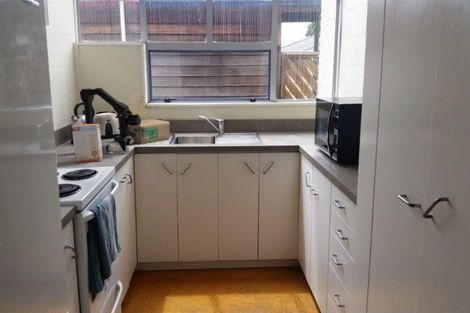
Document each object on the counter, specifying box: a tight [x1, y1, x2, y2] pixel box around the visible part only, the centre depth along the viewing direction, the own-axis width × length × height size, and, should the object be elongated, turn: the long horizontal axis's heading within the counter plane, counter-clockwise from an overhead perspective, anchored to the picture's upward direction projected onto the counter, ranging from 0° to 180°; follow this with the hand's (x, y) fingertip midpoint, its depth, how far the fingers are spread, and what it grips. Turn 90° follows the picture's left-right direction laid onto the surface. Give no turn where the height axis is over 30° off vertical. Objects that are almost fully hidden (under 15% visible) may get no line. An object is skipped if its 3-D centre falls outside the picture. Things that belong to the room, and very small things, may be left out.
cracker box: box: [71, 123, 104, 163], centre depth 236 cm, size 14×6×21 cm, turn 92°
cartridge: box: [109, 145, 131, 153], centre depth 258 cm, size 12×4×4 cm, turn 81°
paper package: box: [129, 118, 171, 145], centre depth 302 cm, size 27×26×14 cm
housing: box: [101, 142, 111, 155], centre depth 259 cm, size 6×8×6 cm
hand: (126, 150), depth 257 cm, fingers closed on cartridge, 4 cm apart
